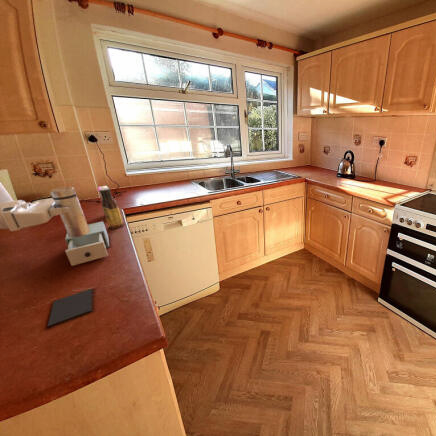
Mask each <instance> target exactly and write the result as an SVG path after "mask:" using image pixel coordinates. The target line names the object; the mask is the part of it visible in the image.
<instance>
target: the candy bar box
mask: <svg viewBox="0 0 436 436" xmlns="http://www.w3.org/2000/svg"><path fill="white" fill-rule="evenodd" d="M96 188H97V192H98V196H99V198H100V200H101V202H102V195H101V193H100V189H103V188H109V186H108V185H102V186H101V185H100V186H97V187H96Z"/></svg>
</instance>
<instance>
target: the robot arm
mask: <svg viewBox="0 0 436 436" xmlns="http://www.w3.org/2000/svg"><path fill="white" fill-rule="evenodd" d="M69 211H70V208H69V206H66V207H62V208H57V207H56V204H55V202H54V200H53V198H52V197H49V198H44V199H38V200H34V201H32V202H26V201H25V200H23V199H17V200H14V199H13V198H12V195H11V194H10V193H9V192H8V191H7V189H6V188H5V186H4V185H3V184H2V182H1V181H0V230H9V231H10V232H16V231H17V232H18V231H20V230H21V229H25V228H30V227H34V226H39V225H43V224H47V223H48V222H49V221H50V220H51V219H52V218H53V217H56V216H60V214H62V213H67V212H69Z"/></svg>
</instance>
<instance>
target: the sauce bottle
mask: <svg viewBox="0 0 436 436" xmlns="http://www.w3.org/2000/svg"><path fill="white" fill-rule="evenodd" d="M100 193H101V195H102V201H101V209H102V211H103V215H104V217H105V219H106V222H107V225H108V227H109V228H110V229H111V230H112V229H118V228H121V227H123V226H124V220H123V218H122V214H121V211H120V209H119V206H118V202H117V200H116V199H115V198H114V197H113V195H112V191H111V188H109V187H108V188H103V189H100Z"/></svg>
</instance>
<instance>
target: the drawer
mask: <svg viewBox="0 0 436 436" xmlns="http://www.w3.org/2000/svg"><path fill="white" fill-rule="evenodd" d="M65 254H66V256H67V258H68V259H67V260H68V261H69V263H70V265H71V266H72V267H73V266H76V265H80V264H85V263H87V262H91V261H95V260H99V259H101V258H105V257H108V256H109V253H108V250H107V248H106V245H105V242H104V239H103V236H102V233H97V234H93V235H89V236H84V237H80V238H76V239H71V240H70V242H69V246H68V245H67V249H65Z"/></svg>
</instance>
